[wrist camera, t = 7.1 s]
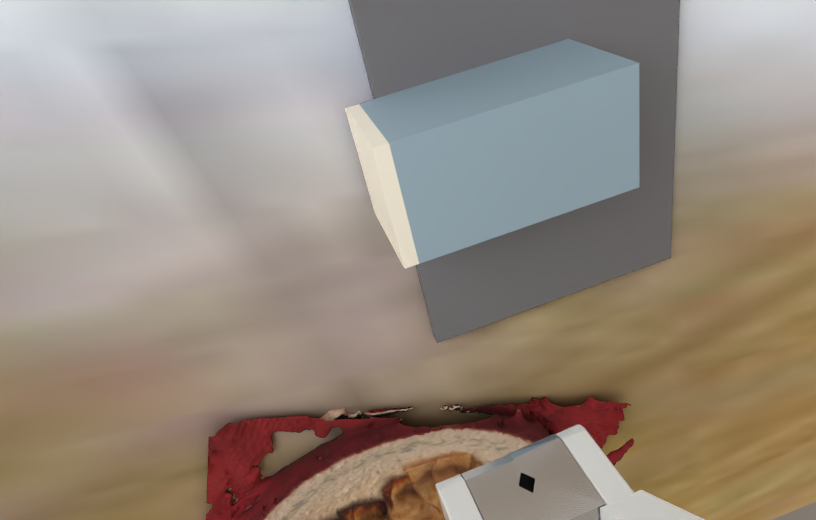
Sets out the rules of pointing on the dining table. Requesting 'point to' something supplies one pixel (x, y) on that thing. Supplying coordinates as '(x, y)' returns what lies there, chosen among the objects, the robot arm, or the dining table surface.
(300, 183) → the dining table surface
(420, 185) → the slate block
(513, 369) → the dining table surface
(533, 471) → the robot arm
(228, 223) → the dining table surface
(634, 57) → the charcoal mat
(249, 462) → the plate with food
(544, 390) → the dining table surface
